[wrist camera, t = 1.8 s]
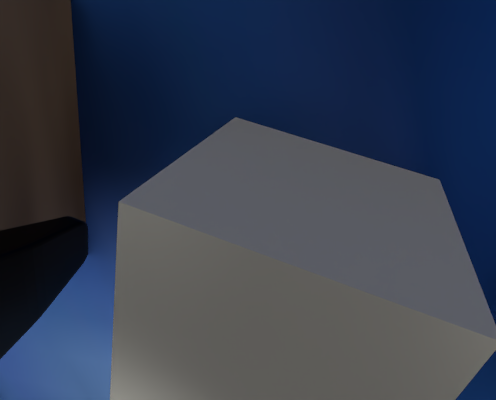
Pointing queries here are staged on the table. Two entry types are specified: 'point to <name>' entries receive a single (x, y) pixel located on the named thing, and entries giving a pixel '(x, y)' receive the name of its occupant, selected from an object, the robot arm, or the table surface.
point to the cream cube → (292, 278)
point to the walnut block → (38, 114)
